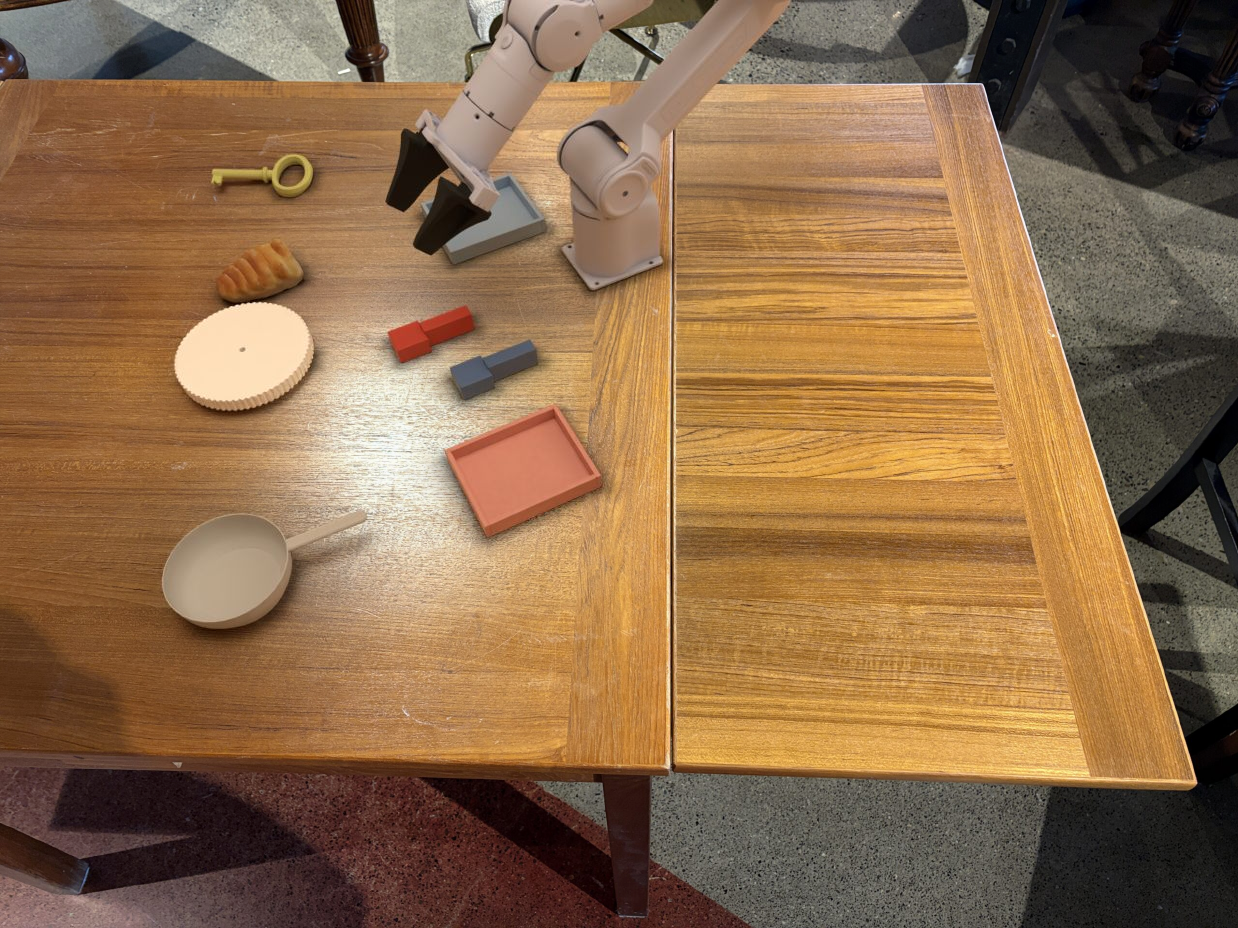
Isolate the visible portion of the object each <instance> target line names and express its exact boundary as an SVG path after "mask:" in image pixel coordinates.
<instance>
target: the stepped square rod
mask: <svg viewBox="0 0 1238 928" xmlns="http://www.w3.org/2000/svg"><path fill="white" fill-rule="evenodd" d="M532 341H533V340H531V339H527V340H524V341H522V342H519V343H516V344H514V345H511V346H509V347H506V348H505V349H502V350H499V351H496V352H494V353H491V354H489V355H485V356H484V357H482V355H477V356H475V357H472V358H470V359H467V360H465V361H463V362H459V363H457V364H455V365H452V366H449V371H450V374H451V378H452V381H453V383H454V385H455V387H456V388H457V390H458V392H459V394H460V396H461V397H462V399H463V400H464V401H466V400H468V399H471V398H473V397H475V396H477V395H480V394H483V393H486V392H488V391H490V390H493V389H495V388H496V387H495V382H497V381H500V380H502V379H504V378H507V377H509V376H511V375H514V374H517V373H519V372H521V371H525V370H527V369H529V368H531V367H534V366H536V365H539V360H538V352H537V348H536V346H535V344H534V343H533V342H532Z"/></svg>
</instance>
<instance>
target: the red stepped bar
mask: <svg viewBox="0 0 1238 928" xmlns="http://www.w3.org/2000/svg"><path fill="white" fill-rule="evenodd" d="M475 329H476V327H475V322H474V318H473V314H472V312H471V311H470V309H469V307H468V306H467V305H462V306H459V307H458V308H454V309H452V310H449V311H447V312H444V313H441V314H439V315H436V316H433V317H430V318H427V319H425V320H422V321H419V320H415V321H412V322H409V323H407V324H404V325H402V326H399V327H396V328H393V329H391V330H388V331H387V335H388V339H389V341H390V345H391V346H392V349H393V350H394V352H395V354H396V356H397V358H398V360H399V362H400V363H401V364H403V363H407V362H408V361H411V360H414V359H416V358H419V357H421V356H424V355H426V354H429V353H431V352H432V348H431V347H432V346H434V345H437V344H440V343H442V342H445V341H448V340H450V339H453V338H455V337H458V336H461V335H464V334H466V333H468V332H471V331H473V330H475Z"/></svg>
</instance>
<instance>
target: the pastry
mask: <svg viewBox="0 0 1238 928" xmlns="http://www.w3.org/2000/svg"><path fill="white" fill-rule="evenodd" d="M304 274H305V273H304V270H303V269H302V267H301V265H300V263H299V262H298V261H297V260H296V258H295V257H294V256H293V254H292V252H291V251H290V249H289V247H288V246H287V244H286V243H285V242H284V241H283V240H282V239H279V238H273V239H272V240H271V241H270V242H266V243H264V244H262V245H257V246H255V247H254V248H250V249H248V250H245V251H244V252H243V254H242V255H241V256H240V257H239V258H237V259H236V261H235V262H233V263H232V264H229V266H227V268H226V269H225V270H223V271H222V273H221V275H218V277H217V279H216V290H217V293H218V295H219V296H220V298H222V299H224V300H226V301H228V302H231V303H241V304H243V303H244V302H247V303H250V302H251V301H253V300H262V299H266V298H269V297H271V296H275V295H276V294H279V293H282V292H283V291H284V290H286V289H291V288H294V287H295V286H297V285H298V284H299V283H301V281H302V280H303V277H304Z"/></svg>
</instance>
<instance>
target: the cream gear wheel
mask: <svg viewBox="0 0 1238 928" xmlns="http://www.w3.org/2000/svg"><path fill="white" fill-rule="evenodd" d="M314 346H315V344H314V340H313V336H312V334H311V331H310V330H309V327H308V326H307V323H306V322H305V319H303V318H302V316H301V315H299V313H297V312H295V310H292V309H291V308H288V307H287V306H283V305H282V304H279V305H278V304H277V303H273V302H268V303H267V302H266V301H265V302H261V301H259V302H255V301H254V302H252V303H250V302H247V303H241V304H236V305H234V306H233V305H232V306H229V307H228V308H227V307H225V308H223V310H222V309H220V310H218V311H217V312H214V313H212V314H211V315H208V316H207V318H203V319H202V321H199V322H198V323H197V325H194V326H193V328H191V329H190V330H189V332H187V333H186V335H185V337H183V338H182V341H180V345H178V346H177V350H176V351H175V353H176V354H175V355H174V359H173V362H174V363H173V366H174V367H173V370H174V371H175V372H174V374H175V378H176V379H177V381H178V383H179V384H180V386H181V388H182V389H183V391H184V392H185V393H186V395H188V396H189V398H190V399H192V400H193V401H194V402H195V403H197V404H200V406H205V408H210V409H212V410H214V409H215V410H216V411H219V410H221V411H224V412H225V411H226V410H227V411H228V412H231V411H234V412H237V411H238V410H239V411H243V410H244V409H246V410H250V408H252V409H255V408H256V407H262V405H263V404H264V405H267V404H268V402H274V400H275V399H276V400H278V399H279V398H280V396H284V395H285V393H288V392H290V389H294V386H295V385H298V384H299V381H301V380H302V377H305V375H306V373H308V371H309V369H310V367H311V365H310V364H312V362H313V361H312V360H313V359H314V356H313V355H314V354H315V347H314Z"/></svg>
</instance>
